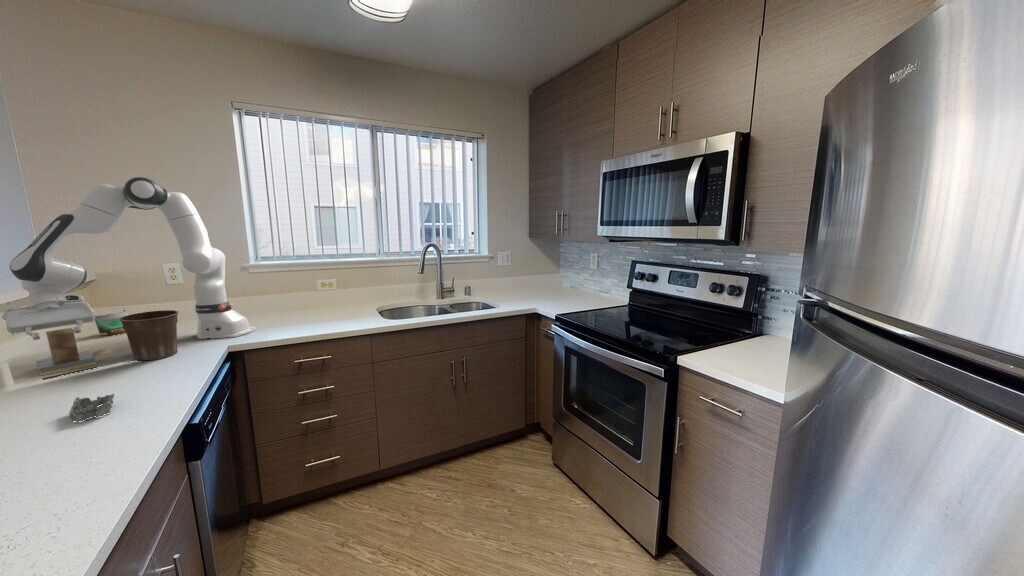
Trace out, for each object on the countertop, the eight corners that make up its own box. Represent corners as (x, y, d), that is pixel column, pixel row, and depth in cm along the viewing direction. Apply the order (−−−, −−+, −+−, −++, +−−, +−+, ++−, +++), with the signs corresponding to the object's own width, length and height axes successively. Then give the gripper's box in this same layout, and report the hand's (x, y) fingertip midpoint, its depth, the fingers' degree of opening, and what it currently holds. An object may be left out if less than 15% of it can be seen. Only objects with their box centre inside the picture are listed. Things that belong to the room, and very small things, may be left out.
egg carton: (78, 410, 102) (75, 396, 102) (118, 402, 107) (115, 388, 106) (67, 426, 94) (63, 411, 93) (110, 417, 99) (107, 402, 98)
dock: (90, 361, 139) (88, 351, 138) (97, 368, 132) (94, 357, 132) (38, 372, 129) (35, 361, 129) (42, 380, 122) (39, 368, 122)
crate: (76, 355, 134) (71, 327, 132) (79, 358, 131) (73, 330, 129) (51, 359, 130) (45, 331, 128) (54, 363, 126) (47, 334, 125)
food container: (106, 338, 168) (102, 316, 166) (96, 337, 169) (91, 315, 168) (138, 330, 180) (135, 310, 178) (128, 330, 181) (124, 309, 180)
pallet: (110, 352, 149) (109, 348, 149) (115, 356, 145) (114, 352, 144) (80, 358, 143) (79, 354, 142) (84, 362, 138) (83, 358, 138)
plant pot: (195, 351, 149) (188, 311, 146) (144, 365, 134) (136, 321, 131) (168, 347, 154) (161, 308, 152) (116, 361, 139) (108, 318, 137)
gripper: (-1, 304, 127) (8, 337, 123) (88, 295, 144) (99, 323, 140) (1, 316, 130) (10, 348, 126) (88, 305, 147) (99, 333, 143)
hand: (57, 335), depth 133 cm, fingers open, 8 cm apart
